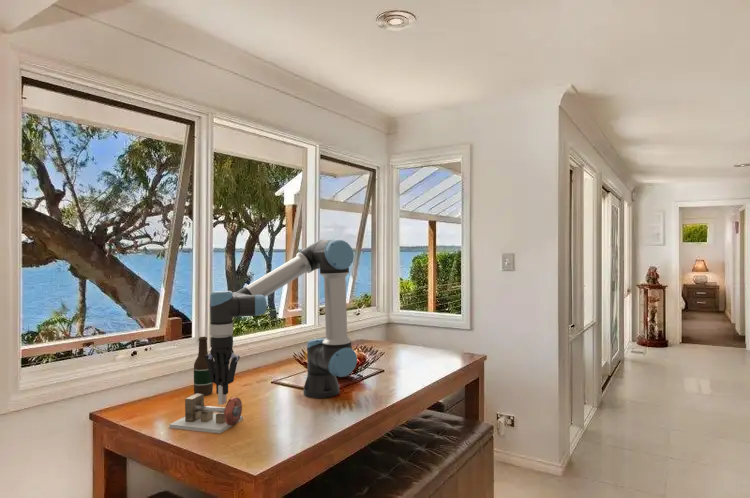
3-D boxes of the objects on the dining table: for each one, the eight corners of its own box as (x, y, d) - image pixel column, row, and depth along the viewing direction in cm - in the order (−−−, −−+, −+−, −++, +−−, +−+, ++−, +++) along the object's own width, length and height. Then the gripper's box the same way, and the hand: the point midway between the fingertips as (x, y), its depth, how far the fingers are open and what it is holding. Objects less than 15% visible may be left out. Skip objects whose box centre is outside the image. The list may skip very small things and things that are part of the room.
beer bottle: (206, 396, 202) (206, 339, 202) (189, 395, 204) (189, 338, 204) (216, 391, 210) (216, 335, 210) (200, 390, 211) (199, 335, 211)
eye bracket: (230, 418, 172) (229, 396, 172) (219, 425, 166) (219, 401, 166) (196, 415, 176) (196, 393, 176) (185, 421, 170) (185, 398, 170)
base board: (242, 419, 175) (242, 415, 175) (220, 433, 161) (220, 429, 161) (195, 414, 180) (195, 411, 180) (169, 427, 167) (169, 424, 167)
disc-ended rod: (244, 420, 172) (244, 394, 172) (230, 429, 163) (229, 402, 163) (195, 415, 177) (195, 390, 178) (178, 424, 169) (178, 397, 169)
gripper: (244, 334, 171) (244, 401, 171) (212, 333, 175) (212, 398, 175) (232, 338, 164) (232, 408, 164) (198, 336, 167) (199, 405, 167)
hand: (222, 403), depth 169 cm, fingers closed
